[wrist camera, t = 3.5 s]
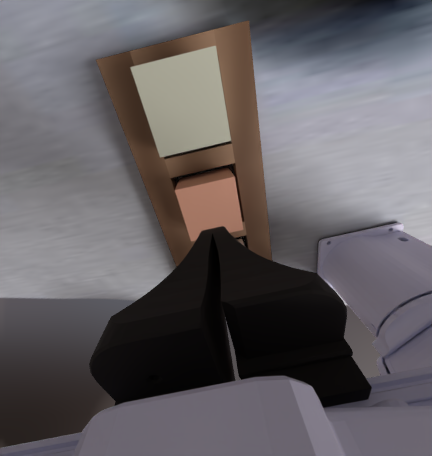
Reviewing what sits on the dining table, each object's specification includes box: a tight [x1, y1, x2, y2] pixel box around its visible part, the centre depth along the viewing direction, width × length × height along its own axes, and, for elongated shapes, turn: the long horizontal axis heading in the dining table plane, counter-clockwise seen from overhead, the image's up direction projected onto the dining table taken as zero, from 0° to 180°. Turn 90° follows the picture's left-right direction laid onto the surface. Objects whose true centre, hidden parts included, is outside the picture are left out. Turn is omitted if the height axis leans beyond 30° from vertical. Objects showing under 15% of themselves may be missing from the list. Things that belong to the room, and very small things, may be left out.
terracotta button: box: [175, 167, 243, 241], centre depth 17 cm, size 4×4×4 cm
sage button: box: [130, 46, 231, 158], centre depth 13 cm, size 4×4×4 cm
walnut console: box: [96, 21, 272, 267], centre depth 18 cm, size 10×22×2 cm, turn 12°
